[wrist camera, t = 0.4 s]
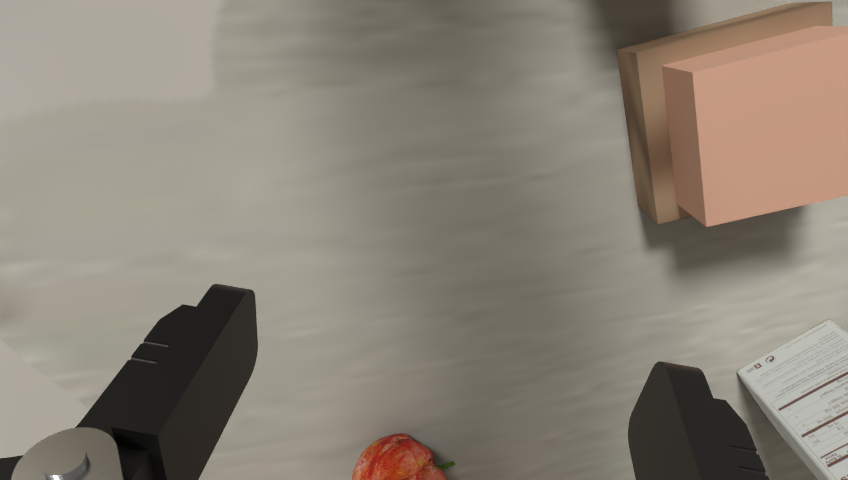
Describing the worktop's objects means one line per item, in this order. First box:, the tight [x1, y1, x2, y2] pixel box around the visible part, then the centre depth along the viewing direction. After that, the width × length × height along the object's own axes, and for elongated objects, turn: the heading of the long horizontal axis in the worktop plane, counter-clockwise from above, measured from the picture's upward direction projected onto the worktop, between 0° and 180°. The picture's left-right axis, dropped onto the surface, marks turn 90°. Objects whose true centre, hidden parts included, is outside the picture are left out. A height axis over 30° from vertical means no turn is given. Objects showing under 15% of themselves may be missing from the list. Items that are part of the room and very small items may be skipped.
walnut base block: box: [617, 2, 832, 224], centre depth 34 cm, size 10×10×4 cm
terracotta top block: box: [662, 26, 848, 227], centre depth 30 cm, size 8×8×4 cm
